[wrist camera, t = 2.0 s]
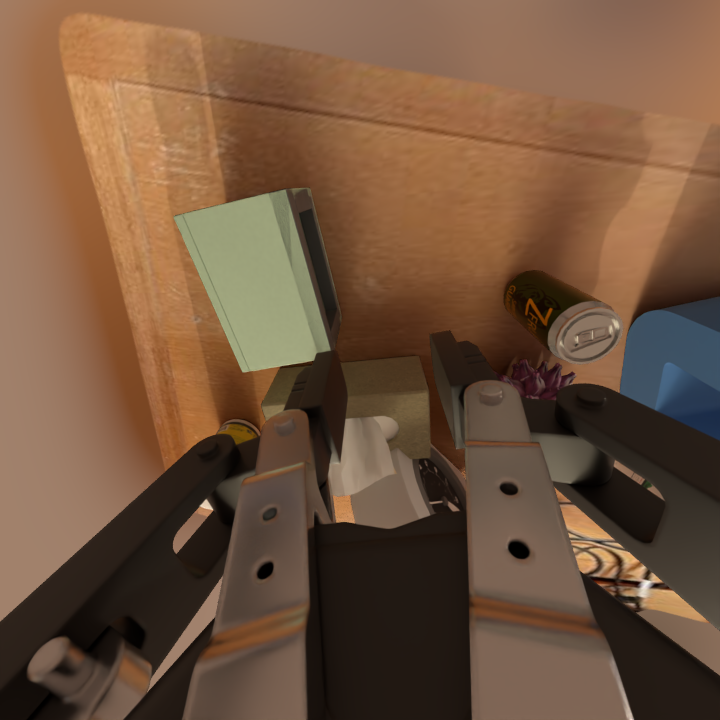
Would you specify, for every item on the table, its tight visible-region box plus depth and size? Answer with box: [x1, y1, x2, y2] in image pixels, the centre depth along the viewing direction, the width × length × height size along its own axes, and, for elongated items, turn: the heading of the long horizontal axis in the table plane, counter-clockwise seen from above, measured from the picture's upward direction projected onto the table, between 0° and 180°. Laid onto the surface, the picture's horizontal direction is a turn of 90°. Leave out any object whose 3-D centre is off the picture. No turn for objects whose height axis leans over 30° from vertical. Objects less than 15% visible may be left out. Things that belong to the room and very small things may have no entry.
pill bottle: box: [200, 419, 260, 509], centre depth 43 cm, size 6×6×11 cm
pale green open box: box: [174, 188, 342, 372], centre depth 31 cm, size 14×9×10 cm, turn 12°
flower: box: [494, 359, 577, 400], centre depth 37 cm, size 12×12×12 cm
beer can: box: [504, 270, 623, 364], centre depth 31 cm, size 5×5×12 cm
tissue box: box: [261, 356, 431, 497], centre depth 36 cm, size 19×10×16 cm, turn 97°
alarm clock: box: [351, 444, 467, 529], centre depth 40 cm, size 21×8×20 cm, turn 42°
